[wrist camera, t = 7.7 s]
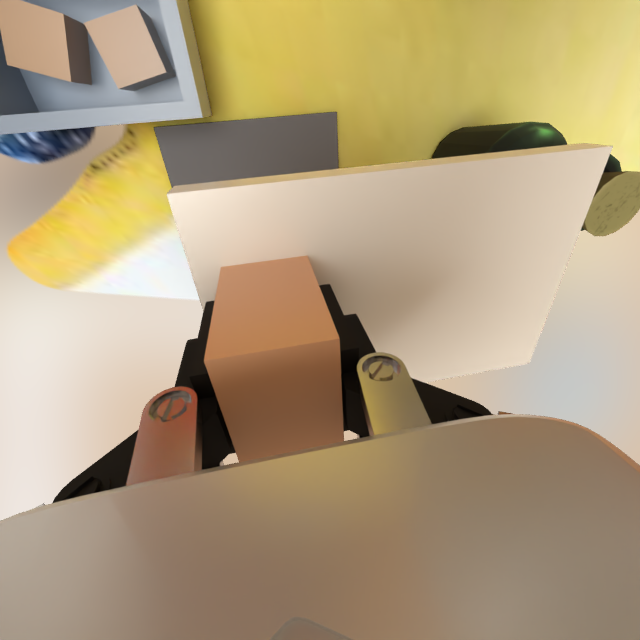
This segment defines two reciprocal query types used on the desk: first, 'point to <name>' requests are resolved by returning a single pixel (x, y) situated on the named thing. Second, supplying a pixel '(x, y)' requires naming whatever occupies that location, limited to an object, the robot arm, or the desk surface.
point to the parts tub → (97, 64)
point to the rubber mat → (249, 148)
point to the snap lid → (376, 275)
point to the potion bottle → (614, 186)
